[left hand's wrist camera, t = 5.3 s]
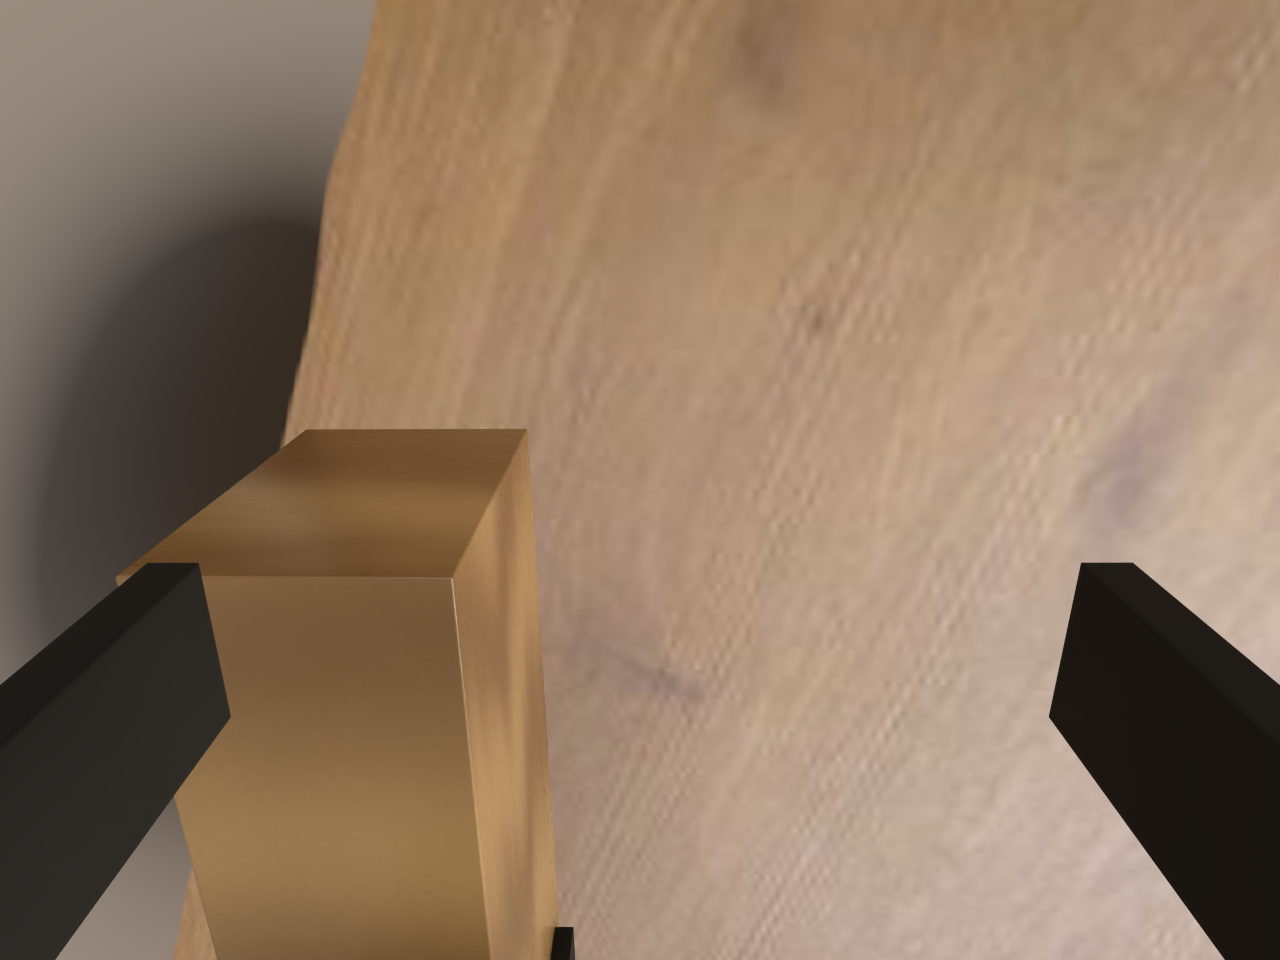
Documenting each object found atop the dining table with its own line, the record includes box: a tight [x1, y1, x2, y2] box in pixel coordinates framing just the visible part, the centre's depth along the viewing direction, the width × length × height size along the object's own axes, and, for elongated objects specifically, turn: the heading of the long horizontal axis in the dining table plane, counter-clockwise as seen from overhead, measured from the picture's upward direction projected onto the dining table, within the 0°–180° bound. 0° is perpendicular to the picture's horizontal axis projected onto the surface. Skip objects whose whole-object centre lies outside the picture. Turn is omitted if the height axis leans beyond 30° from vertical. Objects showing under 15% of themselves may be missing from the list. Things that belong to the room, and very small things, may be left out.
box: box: [116, 429, 559, 960], centre depth 28 cm, size 26×7×10 cm, turn 1°
